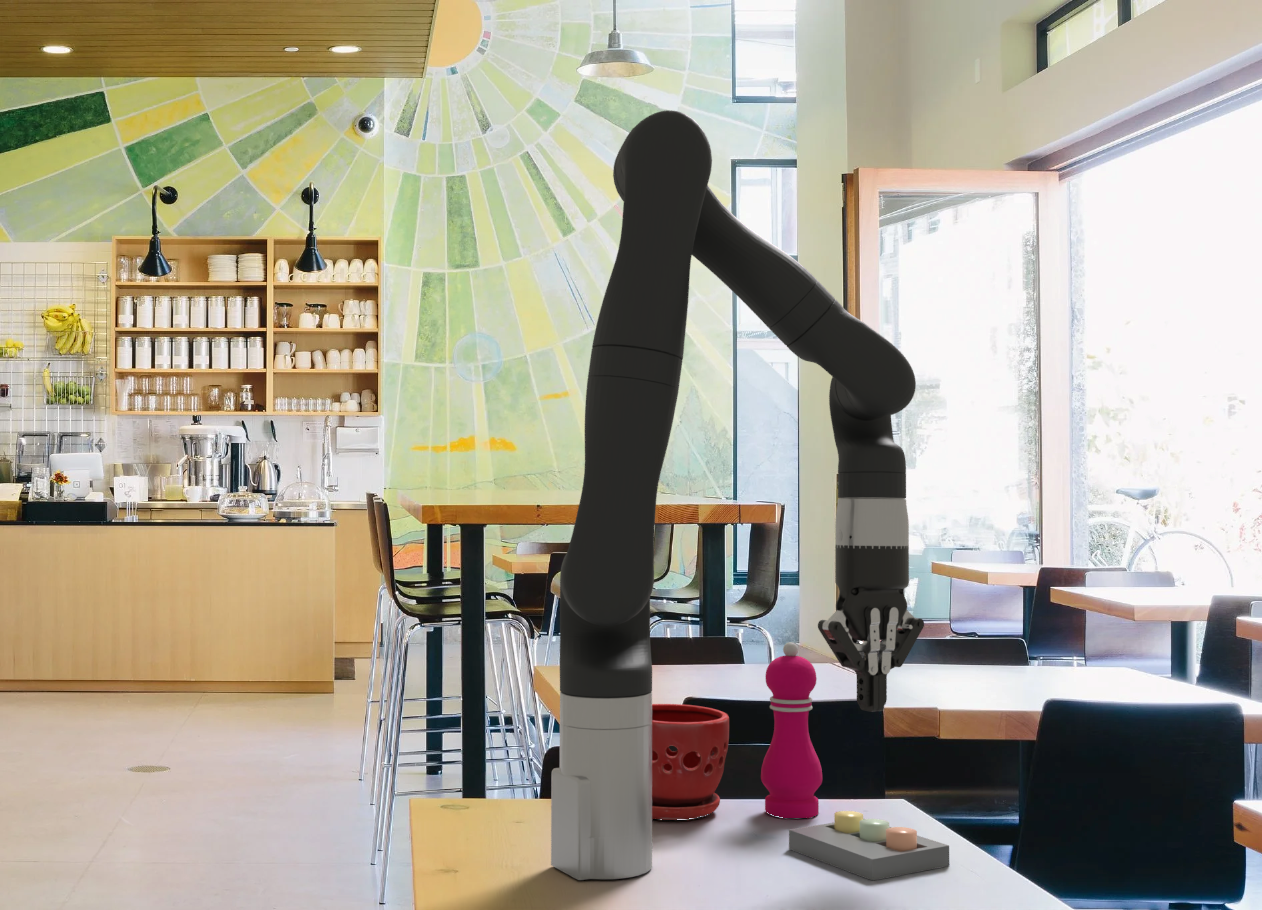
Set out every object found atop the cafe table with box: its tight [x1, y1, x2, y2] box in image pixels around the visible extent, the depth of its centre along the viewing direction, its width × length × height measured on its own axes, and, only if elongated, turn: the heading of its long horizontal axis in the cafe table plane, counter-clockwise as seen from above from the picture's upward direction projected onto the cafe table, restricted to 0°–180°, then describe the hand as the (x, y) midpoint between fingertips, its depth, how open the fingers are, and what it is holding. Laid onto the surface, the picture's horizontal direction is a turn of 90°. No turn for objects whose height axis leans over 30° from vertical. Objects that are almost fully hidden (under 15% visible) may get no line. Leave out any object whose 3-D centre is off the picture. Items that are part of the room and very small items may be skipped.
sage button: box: [860, 818, 890, 842], centre depth 125 cm, size 3×3×3 cm
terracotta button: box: [886, 826, 918, 852], centre depth 121 cm, size 3×3×3 cm
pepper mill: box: [760, 641, 823, 819], centre depth 144 cm, size 7×7×20 cm
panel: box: [788, 822, 950, 881], centre depth 124 cm, size 10×13×2 cm
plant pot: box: [652, 703, 730, 821], centre depth 143 cm, size 13×13×12 cm
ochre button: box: [833, 810, 864, 834], centre depth 128 cm, size 3×3×3 cm
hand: (871, 710), depth 125 cm, fingers closed
